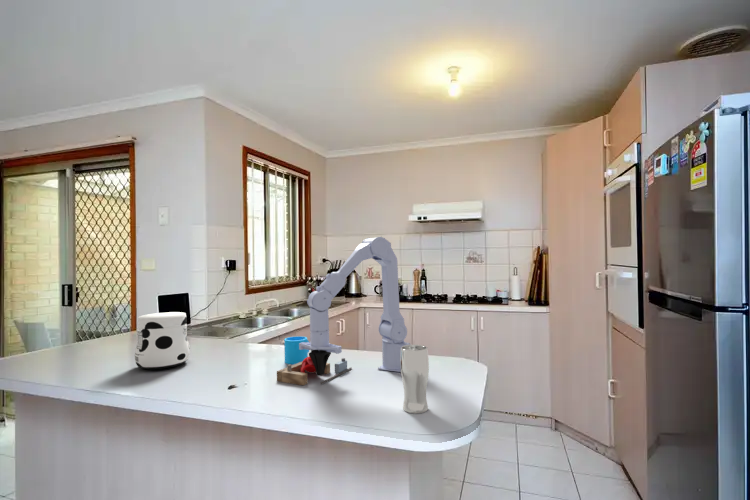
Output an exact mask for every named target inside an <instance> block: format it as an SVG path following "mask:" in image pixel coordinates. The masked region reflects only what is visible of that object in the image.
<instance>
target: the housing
mask: <svg viewBox="0 0 750 500" xmlns="http://www.w3.org/2000/svg"><path fill="white" fill-rule="evenodd" d="M302 362H303V361H302ZM302 362H299V363H297V364H287V365H286V366H287V367H285V368H282V369H280V370H276V382H279V383H280V382H281V383H287V384H293V385H297V386H305V385H307V384H308V373H309V372H308V371H306V370H305V373H301V367H302ZM351 370H352V367H349V368H347V369H346V370H344V371H342V372H340V373H338V374H337V373H335V375H333V376H331V377H330V376H329V378H327V379H325V380H322V381H321V382H320V385H324V384H326V383H327V382H330V381H332V380H333V379H336V378H338V377H340V376H342V375H344V374H345V373H348V372H349V371H351ZM313 373H315V374H316V371H315V372H313ZM328 374H331V363H330V362H327V363H326V367H325V371H324V374H323V375H328Z"/></svg>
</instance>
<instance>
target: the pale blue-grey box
mask: <svg viewBox="0 0 750 500" xmlns="http://www.w3.org/2000/svg"><path fill="white" fill-rule="evenodd" d="M346 369H348V360H346V358H344V357H342V358H341V360H340V361H337V362H336V363H334V374H338V373H340V372H342V371H344V370H346Z"/></svg>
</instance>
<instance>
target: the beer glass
mask: <svg viewBox="0 0 750 500" xmlns="http://www.w3.org/2000/svg"><path fill="white" fill-rule="evenodd" d="M428 350H429V349H428V346H426V345H424V344H423V345H422V344H411V345H405V346H402V347H401V357H400V368H401V372H400V374H401V381H402V386H403V392H404V394H403V395H404V398H403V404H402V405H403V406H402V409H403V411H404V412H406V413H409V414H413V415H414V414H418V415H419V414H424V413H426V412H427V411H428V410H429V406H428V400H427V386H428V380H429V371H430V361H429V351H428Z"/></svg>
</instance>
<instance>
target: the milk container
mask: <svg viewBox="0 0 750 500" xmlns="http://www.w3.org/2000/svg"><path fill="white" fill-rule="evenodd" d="M187 320H188V319H187V313H186V312H182V311H181V312H180V311H169V312H157V313H156V312H155V313H149V314H148V313H146V314H142V315H139V316H138V317H137V329H136V331H137V344H136V348H135V352H134V361H135V365H136V366H137V367H138V368H141V369H144V370H162V369H163V370H164V369H169V368H174V367H177V366H180V365H182V364H185V363H186V362H187V361H188V360H189V358H190V354H191V348H190V347H191V346H190V342H189V340H188V334H187V333H188V323H187V322H188V321H187Z"/></svg>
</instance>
